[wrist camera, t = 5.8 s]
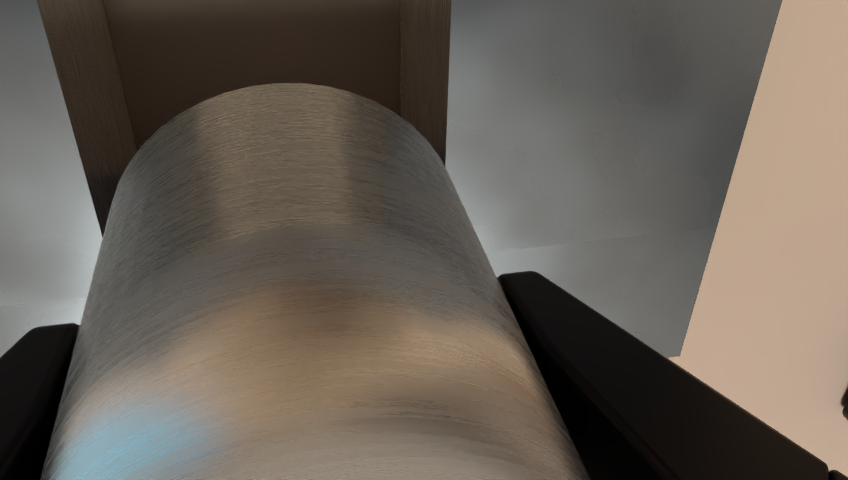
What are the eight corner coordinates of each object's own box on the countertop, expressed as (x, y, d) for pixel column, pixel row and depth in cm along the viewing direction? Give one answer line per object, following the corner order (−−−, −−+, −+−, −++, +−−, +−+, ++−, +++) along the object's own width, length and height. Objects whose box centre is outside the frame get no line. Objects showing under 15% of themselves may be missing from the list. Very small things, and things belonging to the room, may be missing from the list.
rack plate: (723, -378, 12) (901, -412, 9) (604, 248, 19) (679, 355, 16) (-454, -433, 9) (-820, -513, 6) (-83, 326, 16) (-160, 475, 13)
